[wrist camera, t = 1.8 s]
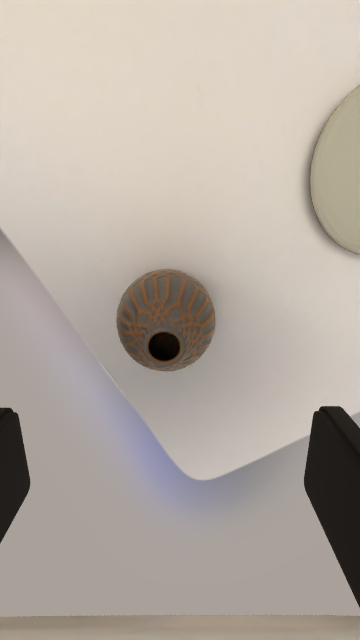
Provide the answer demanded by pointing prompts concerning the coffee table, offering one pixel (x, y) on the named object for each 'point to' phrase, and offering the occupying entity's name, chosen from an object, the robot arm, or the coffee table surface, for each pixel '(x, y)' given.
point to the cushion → (339, 174)
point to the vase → (165, 320)
